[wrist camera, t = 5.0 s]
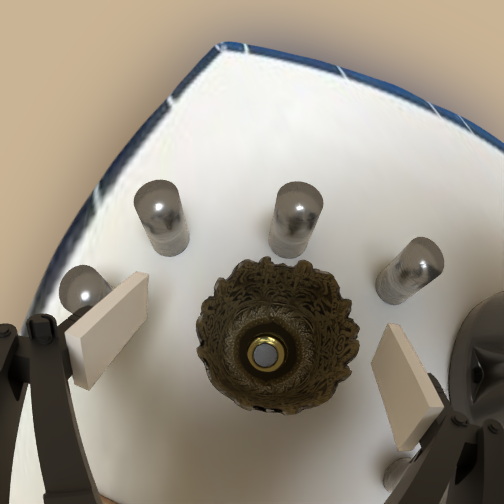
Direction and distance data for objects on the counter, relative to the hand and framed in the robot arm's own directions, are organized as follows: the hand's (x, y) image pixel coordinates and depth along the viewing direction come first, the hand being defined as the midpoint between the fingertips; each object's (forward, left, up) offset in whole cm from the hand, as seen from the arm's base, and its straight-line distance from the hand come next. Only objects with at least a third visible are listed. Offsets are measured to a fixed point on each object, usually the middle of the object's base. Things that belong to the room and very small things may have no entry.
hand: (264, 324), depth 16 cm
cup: (0, +1, -6) cm, 6 cm away
